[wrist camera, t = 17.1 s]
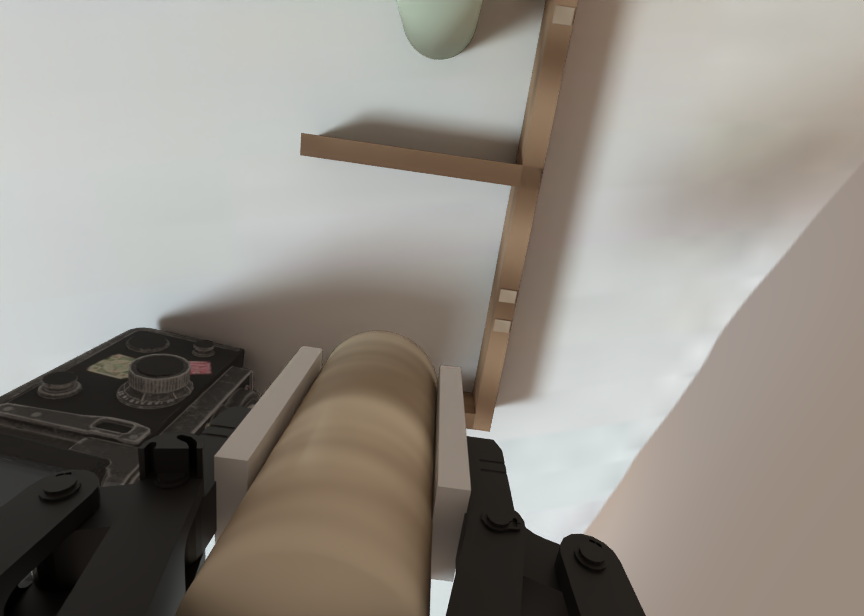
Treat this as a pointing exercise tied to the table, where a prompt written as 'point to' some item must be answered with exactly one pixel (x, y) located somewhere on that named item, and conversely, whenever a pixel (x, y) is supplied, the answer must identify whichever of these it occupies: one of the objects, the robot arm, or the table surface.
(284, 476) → the beech post
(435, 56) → the sage post
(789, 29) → the table surface
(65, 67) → the table surface
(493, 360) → the rack
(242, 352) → the camera
